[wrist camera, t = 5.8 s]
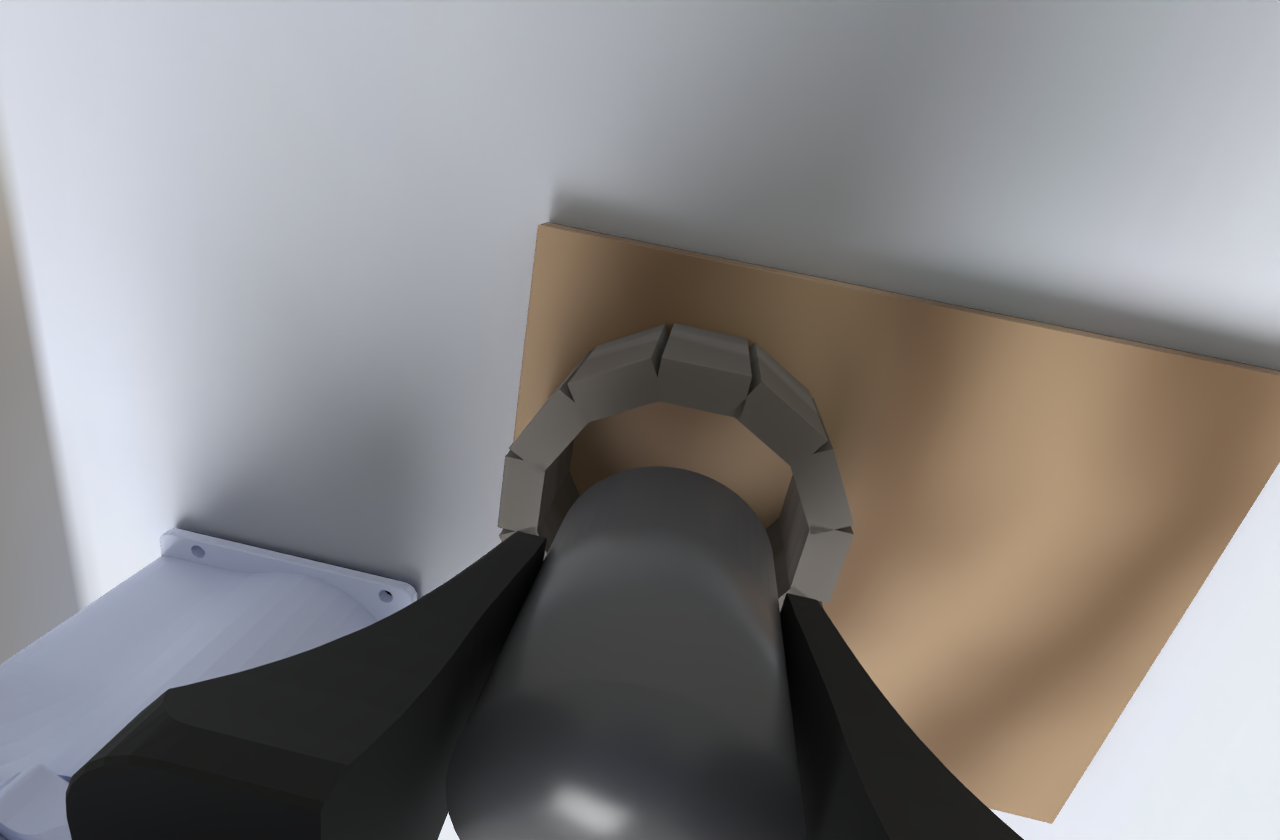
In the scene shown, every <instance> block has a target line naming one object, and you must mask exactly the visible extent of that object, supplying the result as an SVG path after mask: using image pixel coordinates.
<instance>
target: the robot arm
mask: <svg viewBox="0 0 1280 840" xmlns="http://www.w3.org/2000/svg"><path fill="white" fill-rule="evenodd" d="M546 541H547V538H546V537H542V536H537V535H533V534H528V533H524V532H520V531H517V532H515V533H514V534H512V535H511V536H509V537H508V538H507V539H505V540H504V541H503V542H501V543H500V544H499V545H498V546H496V547H495V548H494V549H492V550H491V551H490V552H488V553H487V554H486V555H484V556H483V557H482V558H480V559H479V560H478V561H476V562H475V563H473V564H472V565H471V566H469V567H468V568H466V569H465V570H463V571H462V572H460V573H459V574H458V575H456V576H455V577H453V578H452V579H450V580H449V581H447V582H446V583H444V584H443V585H441V586H439V587H438V588H436V589H435V590H433V591H431V592H430V593H428V594H426V595H425V596H423V597H422V598H420V599H418V600H417V592H416V590H415V589H414V587H412V586H411V585H410V584H408V583H405V582H402V581H397V580H393V579H389V578H385V577H380V576H376V575H372V574H368V573H364V572H359V571H355V570H351V569H347V568H342V567H338V566H334V565H330V564H326V563H321V562H317V561H313V560H309V559H304V558H300V557H296V556H292V555H288V554H283V553H279V552H275V551H271V550H266V549H262V548H258V547H254V546H249V545H245V544H241V543H237V542H233V541H228V540H224V539H220V538H216V537H211V536H207V535H203V534H199V533H195V532H190V531H186V530H182V529H175V528H173V529H171V530H169V531H167V532H166V533H164V534H163V535H162V536H161V537H160V546H161V554H162V556H161V557H160V558H158V559H157V560H155V561H154V562H152V563H151V564H149V565H148V566H146V567H145V568H143V569H142V570H140V571H139V572H137V573H136V574H134V575H133V576H131V577H130V578H128V579H127V580H125V581H124V582H122V583H121V584H119V585H118V586H116V587H115V588H113V589H112V590H110V591H109V592H107V593H106V594H105V595H103V596H102V597H100V598H99V599H97V600H96V601H94V602H93V603H91V604H90V605H88V606H87V607H85V608H84V609H82V610H81V611H79V612H78V613H76V614H75V615H73V616H72V617H70V618H69V619H67V620H66V621H64V622H63V623H62V624H60V625H59V626H57V627H55V628H54V629H53V630H51V631H49V632H48V633H47V634H45V635H44V636H42V637H41V638H39V639H38V640H36V641H35V642H33V643H32V644H30V645H29V646H27V647H26V648H24V649H23V650H22V651H20V652H18V653H17V654H15V655H14V656H12V657H11V658H9V659H8V660H6V661H5V662H4V663H3V664H1V665H0V840H437V839H438V837H439V834H440V832H441V829H442V826H443V824H444V821H445V819H446V816H447V814H448V806H447V801H446V775H447V769H448V764H449V761H450V759H451V756H452V753H453V750H454V748H455V746H456V744H457V742H458V740H459V738H460V735H461V733H462V731H463V729H464V727H465V725H466V723H467V721H468V719H469V717H470V715H471V712H472V710H473V708H474V706H475V704H476V702H477V700H478V698H479V696H480V694H481V691H482V689H483V687H484V685H485V683H486V681H487V679H488V677H489V675H490V673H491V670H492V668H493V666H494V664H495V662H496V660H497V658H498V656H499V654H500V652H501V650H502V647H503V645H504V643H505V641H506V639H507V637H508V635H509V633H510V631H511V629H512V626H513V624H514V622H515V620H516V618H517V616H518V614H519V612H520V610H521V608H522V605H523V603H524V601H525V599H526V597H527V595H528V593H529V591H530V589H531V587H532V584H533V582H534V580H535V578H536V576H537V574H538V572H539V570H540V568H541V566H542V564H543V561H544V554H545V547H546ZM385 590H386V591H388V592H390V593H391V594H392V596H391V595H388V594H387V593H386V592H385ZM780 617H781V626H782V634H783V642H784V651H785V659H786V667H787V676H788V684H789V692H790V701H791V709H792V717H793V726H794V734H795V742H796V751H797V759H798V768H799V776H800V784H801V793H802V801H803V809H804V818H805V828H806V840H1024V839H1022V838H1021V837H1020V836H1019V835H1018V834H1017V833H1016V832H1014V831H1013V830H1012V829H1011V828H1010V827H1009V826H1008V825H1006V824H1005V823H1004V822H1003V821H1002V820H1001V819H1000V818H998V817H997V816H996V815H995V814H994V813H993V812H992V811H991V810H990V809H989V808H988V807H987V806H986V805H985V804H983V803H982V802H981V801H980V800H979V799H978V798H977V797H976V796H975V795H974V794H973V793H972V792H971V791H970V790H969V789H968V788H966V787H965V786H964V785H963V784H962V783H961V782H960V781H959V780H958V779H957V778H956V777H955V776H954V775H953V774H952V773H951V772H950V771H949V770H948V769H947V768H946V766H945V765H944V764H943V763H942V762H941V761H940V760H939V759H938V758H937V757H936V756H935V755H934V754H933V752H932V751H931V750H930V749H929V748H928V747H927V746H926V745H925V744H924V743H923V742H922V741H921V740H920V738H919V737H918V736H917V735H916V734H915V733H914V732H913V730H912V729H911V728H910V727H909V726H908V725H907V723H906V722H905V721H904V720H903V719H902V717H901V716H900V715H899V714H898V712H897V711H896V710H895V709H894V707H893V706H892V705H891V704H890V702H889V701H888V700H887V699H886V697H885V696H884V695H883V694H882V692H881V691H880V690H879V688H878V687H877V686H876V684H875V683H874V682H873V680H872V679H871V678H870V676H869V675H868V673H867V672H866V671H865V669H864V668H863V667H862V665H861V664H860V662H859V661H858V659H857V658H856V657H855V655H854V654H853V652H852V651H851V649H850V648H849V646H848V645H847V643H846V642H845V641H844V639H843V638H842V636H841V635H840V633H839V632H838V630H837V629H836V627H835V626H834V624H833V623H832V621H831V619H830V618H829V616H828V615H827V613H826V612H825V610H824V609H823V607H822V606H821V605H820V603H819V602H818V600H816V599H811V598H807V597H803V596H798V595H794V594H790V593H786V596H785V599H784V602H783V605H782V608H781V611H780Z"/></svg>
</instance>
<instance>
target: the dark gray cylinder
mask: <svg viewBox="0 0 1280 840" xmlns="http://www.w3.org/2000/svg"><path fill="white" fill-rule="evenodd" d="M446 801H447V806H448V811H449V815H450V818H451V821H452V823H453V826H454V829H455V831H456V833H457V835H458V837H459V839H460V840H806V828H805V818H804V809H803V801H802V793H801V784H800V776H799V768H798V759H797V751H796V742H795V734H794V726H793V717H792V709H791V701H790V692H789V684H788V676H787V667H786V659H785V651H784V642H783V634H782V626H781V617H780V609H779V601H778V592H777V584H776V576H775V567H774V559H773V551H772V547H771V544H770V540H769V537H768V535H767V533H766V530H765V528H764V526H763V524H762V523H761V521H760V519H759V518H758V516H757V515H756V513H755V512H754V511H753V510H752V509H751V507H750V506H749V505H748V504H747V503H746V502H745V501H744V500H743V499H742V498H741V497H740V496H739V495H738V494H736V493H735V492H733V491H732V490H731V489H729V488H728V487H726V486H725V485H723V484H721V483H720V482H718V481H716V480H714V479H712V478H710V477H707V476H705V475H702V474H700V473H697V472H693V471H689V470H686V469H681V468H674V467H664V466H650V467H639V468H634V469H630V470H625V471H622V472H619V473H616V474H613V475H611V476H609V477H607V478H605V479H603V480H601V481H599V482H597V483H596V484H594V485H593V486H592V487H590V488H589V489H587V490H586V491H585V492H584V493H583V494H582V495H581V496H580V497H579V498H578V499H577V500H576V501H575V502H574V504H573V505H572V506H571V508H570V509H569V511H568V512H567V514H566V516H565V518H564V519H563V522H562V524H561V526H560V528H559V530H558V532H557V534H556V536H555V538H554V540H553V543H552V545H551V547H550V549H549V551H548V553H547V555H546V557H545V559H544V561H543V564H542V566H541V568H540V570H539V572H538V574H537V576H536V578H535V580H534V582H533V584H532V587H531V589H530V591H529V593H528V595H527V597H526V599H525V601H524V603H523V605H522V608H521V610H520V612H519V614H518V616H517V618H516V620H515V622H514V624H513V626H512V629H511V631H510V633H509V635H508V637H507V639H506V641H505V643H504V645H503V647H502V650H501V652H500V654H499V656H498V658H497V660H496V662H495V664H494V666H493V668H492V670H491V673H490V675H489V677H488V679H487V681H486V683H485V685H484V687H483V689H482V691H481V694H480V696H479V698H478V700H477V702H476V704H475V706H474V708H473V710H472V712H471V715H470V717H469V719H468V721H467V723H466V725H465V727H464V729H463V731H462V733H461V735H460V738H459V740H458V742H457V744H456V746H455V748H454V750H453V753H452V756H451V759H450V761H449V764H448V769H447V775H446Z"/></svg>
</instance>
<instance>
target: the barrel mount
mask: <svg viewBox="0 0 1280 840" xmlns="http://www.w3.org/2000/svg"><path fill="white" fill-rule="evenodd" d="M509 449H511V450H510V451H509V453H508V454H507V455H506V456H505V465H504V474H503V483H502V492H501V501H500V510H499V519H498V527H500V528H503V530H502V532H501V533H500V535H499V536H500V538H501V540H502V542H503V541H504V540H505V539H507V538H508V537H509V536H511V535H512V534H514V533H515V532H517V531H520V532H524V533H528V534H533V535H537V536H542V537H546V538H547V541H546V547H545V554H544V559H545V557H546V555H547V553H548V551H549V549H550V547H551V545H552V543H553V540H554V538H555V536H556V534H557V532H558V530H559V528H560V526H561V524H562V522H563V519H564V518H565V516H566V514H567V512H568V511H569V509H570V508H571V506H572V505H573V504H574V502H575V501H576V500H577V499H578V498H579V497H580V496H581V495H582V494H583V493H584V492H585V491H586V490H587V489H589V488H590V487H592V486H593V485H594V484H596V483H597V482H599V481H601V480H603V479H605V478H607V477H609V476H611V475H613V474H616V473H619V472H622V471H625V470H630V469H634V468H639V467H650V466H664V467H674V468H681V469H686V470H689V471H693V472H697V473H700V474H702V475H705V476H707V477H710V478H712V479H714V480H716V481H718V482H720V483H721V484H723V485H725V486H726V487H728V488H729V489H731V490H732V491H733V492H735V493H736V494H738V495H739V496H740V497H741V498H742V499H743V500H744V501H745V502H746V503H747V504H748V505H749V506H750V507H751V509H752V510H753V511H754V512H755V513H756V515H757V516H758V518H759V519H760V521H761V523H762V524H763V526H764V528H765V530H766V533H767V535H768V537H769V540H770V544H771V547H772V551H773V559H774V567H775V576H776V584H777V592H778V601H779V609H780V611H781V608H782V605H783V602H784V599H785V596H786V593H790V594H794V595H798V596H803V597H807V598H811V599H816V600H818V602H819V603H820V605H821V606H822V607H823V609H824V610H825V612H826V613H827V615H828V616H829V618H830V619H831V621H832V623H833V624H834V626H835V627H836V629H837V630H838V632H839V633H840V635H841V636H842V638H843V639H844V641H845V642H846V643H847V645H848V646H849V648H850V649H851V651H852V652H853V654H854V655H855V657H856V658H857V659H858V661H859V662H860V664H861V665H862V667H863V668H864V669H865V671H866V672H867V673H868V675H869V676H870V678H871V679H872V680H873V682H874V683H875V684H876V686H877V687H878V688H879V690H880V691H881V692H882V694H883V695H884V696H885V697H886V699H887V700H888V701H889V702H890V704H891V705H892V706H893V707H894V709H895V710H896V711H897V712H898V714H899V715H900V716H901V717H902V719H903V720H904V721H905V722H906V723H907V725H908V726H909V727H910V728H911V729H912V730H913V732H914V733H915V734H916V735H917V736H918V737H919V738H920V740H921V741H922V742H923V743H924V744H925V745H926V746H927V747H928V748H929V749H930V750H931V751H932V752H933V754H934V755H935V756H936V757H937V758H938V759H939V760H940V761H941V762H942V763H943V764H944V765H945V766H946V768H947V769H948V770H949V771H950V772H951V773H952V774H953V775H954V776H955V777H956V778H957V779H958V780H959V781H960V782H961V783H962V784H963V785H964V786H965V787H966V788H968V789H969V790H970V791H971V792H972V793H973V794H974V795H975V796H976V797H977V798H978V799H979V800H980V801H981V802H982V803H983V804H985V805H986V806H987V807H988V808H990V809H994V810H998V811H1002V812H1006V813H1011V814H1015V815H1019V816H1023V817H1027V818H1031V819H1035V820H1039V821H1043V822H1047V823H1053V821H1054V820H1055V818H1056V817H1057V815H1058V813H1059V812H1060V810H1061V809H1062V807H1063V805H1064V804H1065V802H1066V801H1067V799H1068V798H1069V796H1070V794H1071V793H1072V791H1073V790H1074V788H1075V786H1076V785H1077V783H1078V782H1079V780H1080V778H1081V777H1082V775H1083V774H1084V772H1085V770H1086V769H1087V767H1088V766H1089V764H1090V763H1091V761H1092V759H1093V758H1094V756H1095V755H1096V753H1097V751H1098V750H1099V748H1100V747H1101V745H1102V743H1103V742H1104V740H1105V739H1106V737H1107V736H1108V734H1109V732H1110V731H1111V729H1112V728H1113V726H1114V724H1115V723H1116V721H1117V720H1118V718H1119V716H1120V715H1121V713H1122V712H1123V710H1124V708H1125V707H1126V705H1127V704H1128V702H1129V701H1130V699H1131V697H1132V696H1133V694H1134V693H1135V691H1136V689H1137V688H1138V686H1139V685H1140V683H1141V681H1142V680H1143V678H1144V677H1145V675H1146V674H1147V672H1148V670H1149V669H1150V667H1151V666H1152V664H1153V662H1154V661H1155V659H1156V658H1157V656H1158V654H1159V653H1160V651H1161V650H1162V648H1163V647H1164V645H1165V643H1166V642H1167V640H1168V639H1169V637H1170V635H1171V634H1172V632H1173V631H1174V629H1175V627H1176V626H1177V624H1178V623H1179V621H1180V619H1181V618H1182V616H1183V615H1184V613H1185V612H1186V610H1187V608H1188V607H1189V605H1190V604H1191V602H1192V600H1193V599H1194V597H1195V596H1196V594H1197V592H1198V591H1199V589H1200V588H1201V586H1202V585H1203V583H1204V581H1205V580H1206V578H1207V577H1208V575H1209V573H1210V572H1211V570H1212V569H1213V567H1214V565H1215V564H1216V562H1217V561H1218V559H1219V557H1220V556H1221V554H1222V553H1223V551H1224V550H1225V548H1226V546H1227V545H1228V543H1229V542H1230V540H1231V538H1232V537H1233V535H1234V534H1235V532H1236V530H1237V529H1238V527H1239V526H1240V524H1241V523H1242V521H1243V519H1244V518H1245V516H1246V515H1247V513H1248V511H1249V510H1250V508H1251V507H1252V505H1253V503H1254V502H1255V500H1256V499H1257V497H1258V495H1259V494H1260V492H1261V491H1262V489H1263V488H1264V486H1265V484H1266V483H1267V481H1268V480H1269V478H1270V476H1271V475H1272V473H1273V472H1274V470H1275V468H1276V467H1277V465H1278V464H1279V462H1280V371H1277V370H1272V369H1267V368H1263V367H1258V366H1253V365H1248V364H1243V363H1238V362H1233V361H1228V360H1223V359H1218V358H1213V357H1208V356H1203V355H1198V354H1194V353H1189V352H1184V351H1179V350H1174V349H1169V348H1164V347H1159V346H1154V345H1149V344H1144V343H1139V342H1134V341H1129V340H1125V339H1120V338H1115V337H1110V336H1105V335H1100V334H1095V333H1090V332H1085V331H1080V330H1075V329H1070V328H1065V327H1060V326H1056V325H1051V324H1046V323H1041V322H1036V321H1031V320H1026V319H1021V318H1016V317H1011V316H1006V315H1001V314H996V313H991V312H987V311H982V310H977V309H972V308H967V307H962V306H957V305H952V304H947V303H942V302H937V301H932V300H927V299H922V298H918V297H913V296H908V295H903V294H898V293H893V292H888V291H883V290H878V289H873V288H868V287H863V286H858V285H853V284H849V283H844V282H839V281H834V280H829V279H824V278H819V277H814V276H809V275H804V274H799V273H794V272H789V271H784V270H780V269H775V268H770V267H765V266H760V265H755V264H750V263H745V262H740V261H735V260H730V259H725V258H720V257H715V256H711V255H706V254H701V253H696V252H691V251H686V250H681V249H676V248H671V247H666V246H661V245H656V244H651V243H646V242H641V241H637V240H632V239H627V238H622V237H617V236H612V235H607V234H602V233H597V232H592V231H587V230H582V229H577V228H572V227H568V226H563V225H558V224H553V223H545V224H541V225H538V231H537V240H536V248H535V257H534V266H533V274H532V283H531V292H530V300H529V309H528V318H527V327H526V335H525V344H524V353H523V361H522V370H521V379H520V387H519V396H518V405H517V413H516V422H515V431H514V440H513V444H512V445H511V446H510V448H509Z"/></svg>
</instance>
